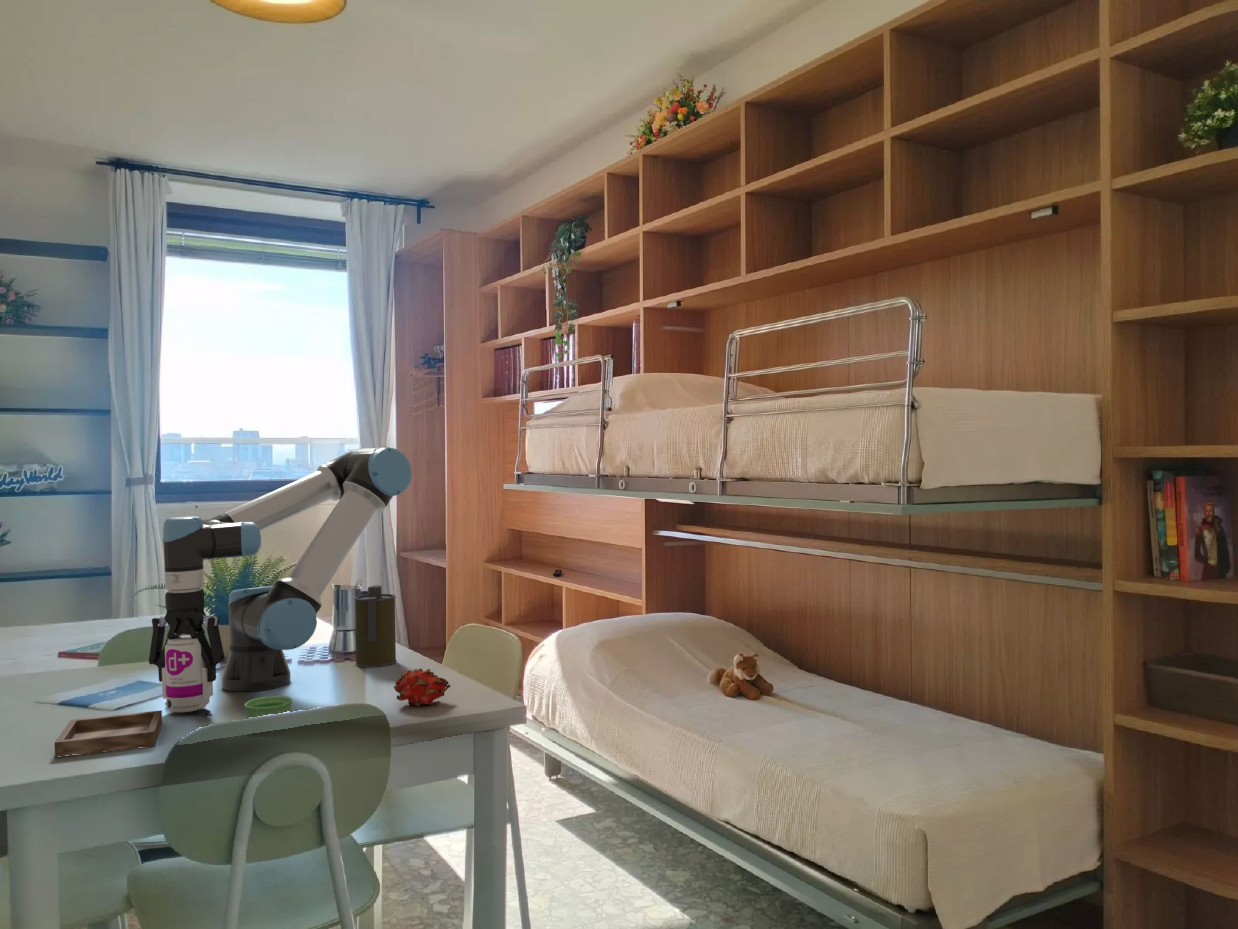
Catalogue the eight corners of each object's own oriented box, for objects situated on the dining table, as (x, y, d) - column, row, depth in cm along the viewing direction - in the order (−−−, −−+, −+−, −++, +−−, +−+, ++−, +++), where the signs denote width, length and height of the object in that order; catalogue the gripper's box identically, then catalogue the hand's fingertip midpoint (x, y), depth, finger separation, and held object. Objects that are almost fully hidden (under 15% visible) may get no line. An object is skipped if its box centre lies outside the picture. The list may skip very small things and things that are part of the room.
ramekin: (256, 717, 190) (255, 696, 190) (299, 717, 190) (298, 695, 190) (236, 729, 181) (236, 707, 181) (282, 729, 181) (281, 707, 181)
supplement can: (193, 713, 190) (190, 641, 190) (158, 712, 192) (155, 640, 191) (217, 703, 198) (215, 633, 198) (183, 701, 200) (181, 633, 199)
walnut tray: (162, 724, 186) (161, 710, 186) (154, 746, 171) (154, 731, 171) (70, 734, 180) (70, 719, 180) (54, 758, 165) (54, 742, 165)
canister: (359, 659, 244) (357, 584, 244) (399, 658, 245) (397, 583, 245) (351, 668, 233) (350, 590, 233) (393, 667, 234) (392, 588, 234)
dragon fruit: (389, 713, 197) (445, 716, 200) (394, 697, 190) (452, 701, 194) (393, 676, 202) (448, 680, 205) (397, 659, 196) (454, 664, 199)
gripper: (126, 593, 192) (130, 701, 192) (223, 592, 190) (226, 701, 190) (148, 587, 199) (151, 692, 199) (241, 586, 197) (244, 692, 198)
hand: (188, 696), depth 195 cm, fingers closed on supplement can, 8 cm apart
